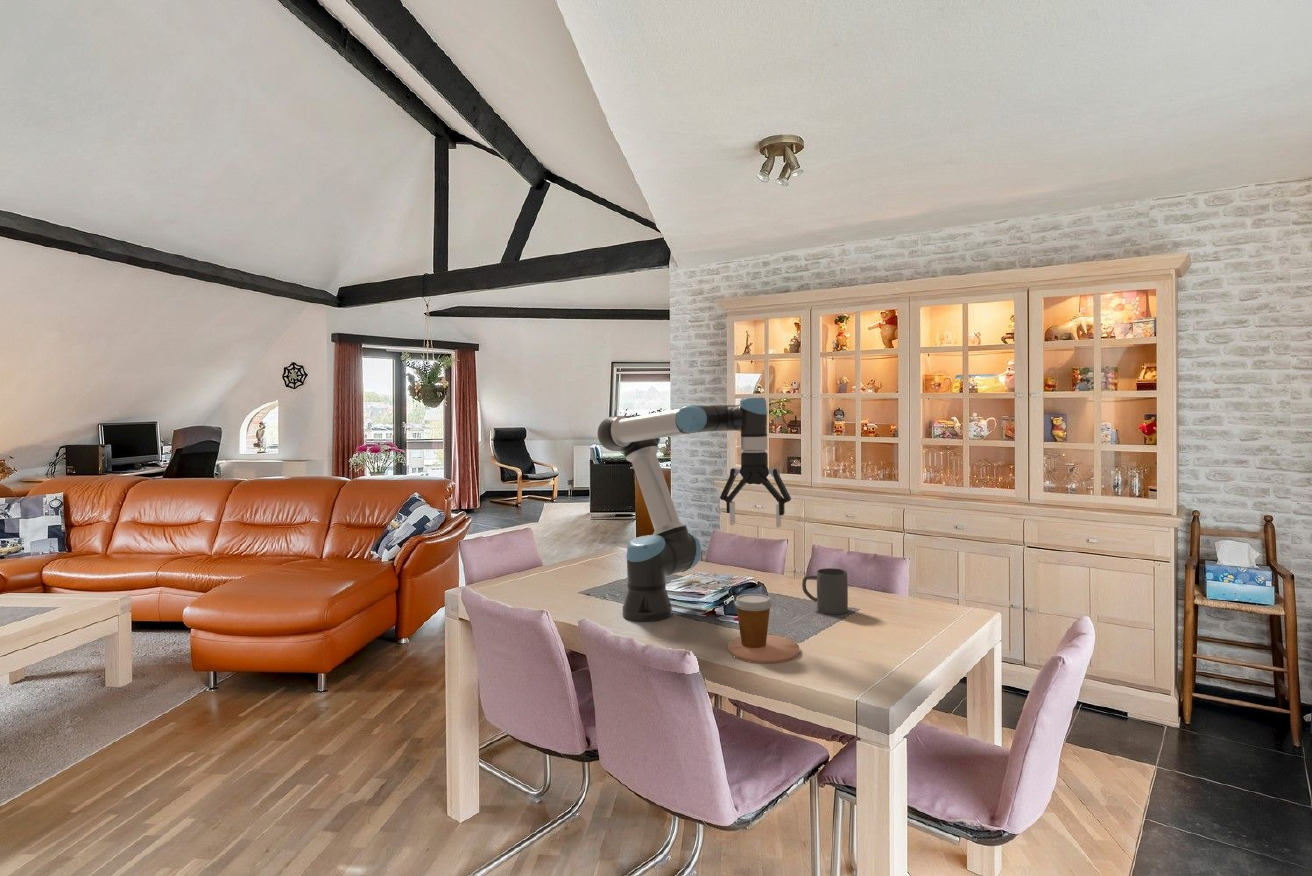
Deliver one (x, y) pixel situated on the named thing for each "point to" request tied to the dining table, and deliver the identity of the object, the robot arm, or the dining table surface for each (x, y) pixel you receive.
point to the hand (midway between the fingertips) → (755, 525)
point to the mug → (830, 590)
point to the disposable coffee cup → (753, 619)
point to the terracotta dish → (765, 650)
